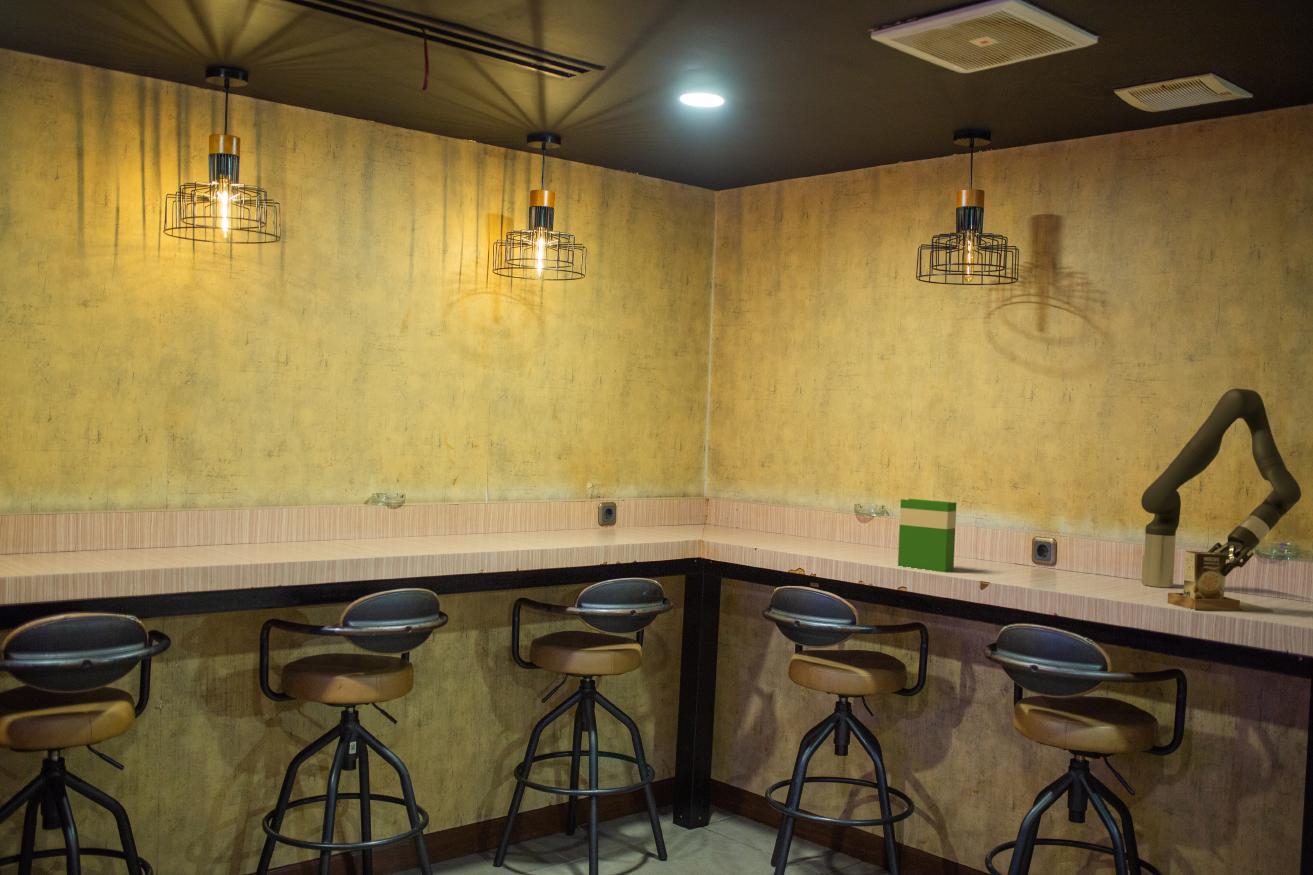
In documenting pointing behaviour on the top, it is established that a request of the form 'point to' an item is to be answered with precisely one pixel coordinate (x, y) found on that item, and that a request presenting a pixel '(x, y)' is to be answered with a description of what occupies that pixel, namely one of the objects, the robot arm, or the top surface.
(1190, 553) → the coffee box
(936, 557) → the green cereal box
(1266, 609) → the rubber mat
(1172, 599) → the walnut cradle
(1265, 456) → the robot arm
